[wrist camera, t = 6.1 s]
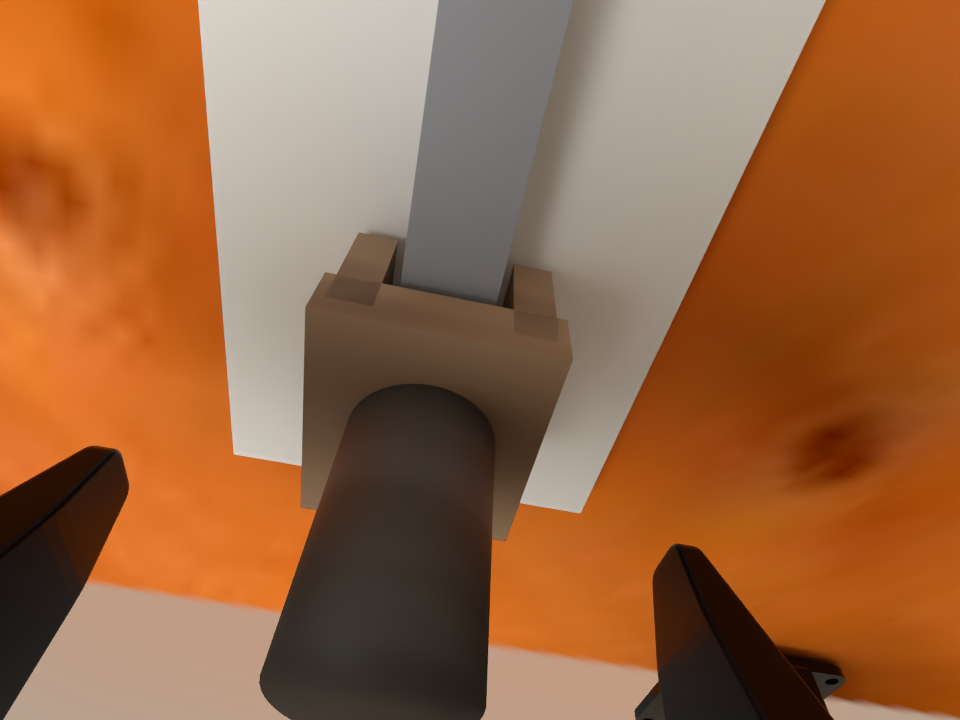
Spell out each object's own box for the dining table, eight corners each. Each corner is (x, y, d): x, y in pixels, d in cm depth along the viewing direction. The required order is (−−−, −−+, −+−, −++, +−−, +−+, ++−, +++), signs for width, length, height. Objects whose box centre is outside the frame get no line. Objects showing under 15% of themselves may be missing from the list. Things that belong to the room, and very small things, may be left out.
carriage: (506, 442, 15) (502, 790, 9) (336, 412, 14) (208, 752, 8) (560, 274, 12) (611, 620, 6) (348, 230, 12) (167, 550, 5)
